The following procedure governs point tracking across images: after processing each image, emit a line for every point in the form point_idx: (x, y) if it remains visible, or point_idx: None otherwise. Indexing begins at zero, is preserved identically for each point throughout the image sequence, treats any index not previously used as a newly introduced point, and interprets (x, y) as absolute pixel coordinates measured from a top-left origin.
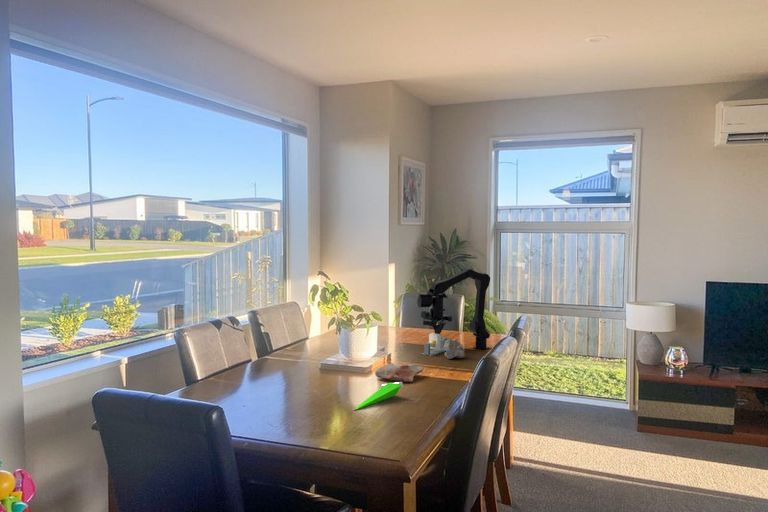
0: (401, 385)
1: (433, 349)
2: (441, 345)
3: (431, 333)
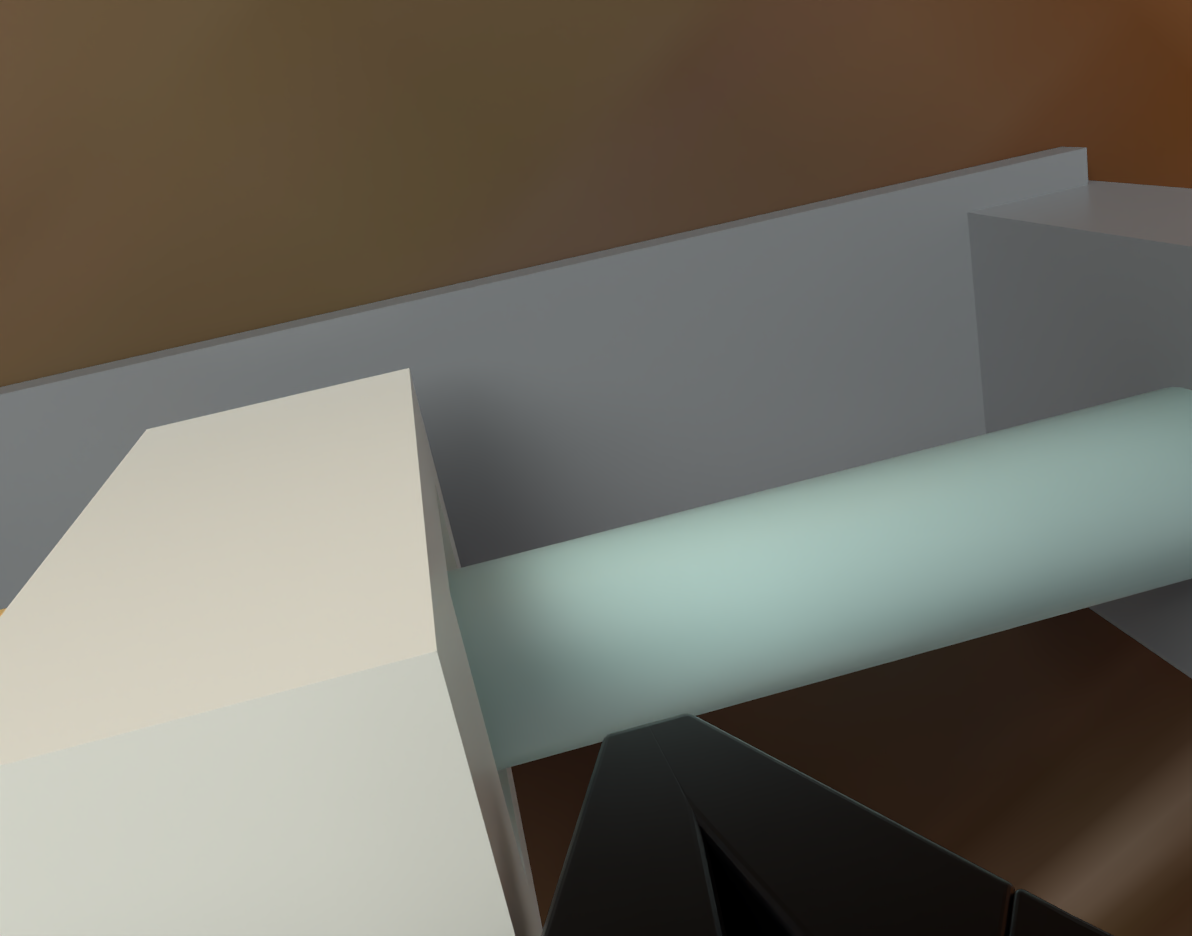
0: None
1: (547, 278)
2: (1020, 279)
3: (227, 767)
